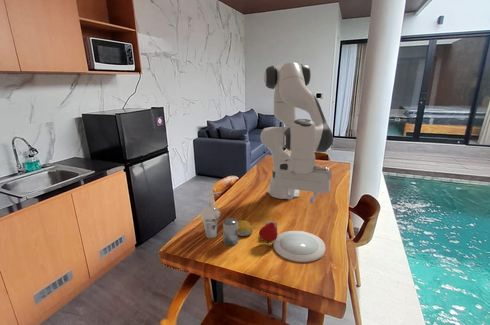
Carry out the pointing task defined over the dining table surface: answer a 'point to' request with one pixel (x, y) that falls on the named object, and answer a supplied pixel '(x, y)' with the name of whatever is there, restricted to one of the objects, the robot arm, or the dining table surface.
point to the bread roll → (244, 228)
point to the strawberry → (268, 232)
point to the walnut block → (270, 222)
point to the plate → (299, 246)
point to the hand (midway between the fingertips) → (300, 200)
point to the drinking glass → (230, 231)
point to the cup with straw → (210, 218)
